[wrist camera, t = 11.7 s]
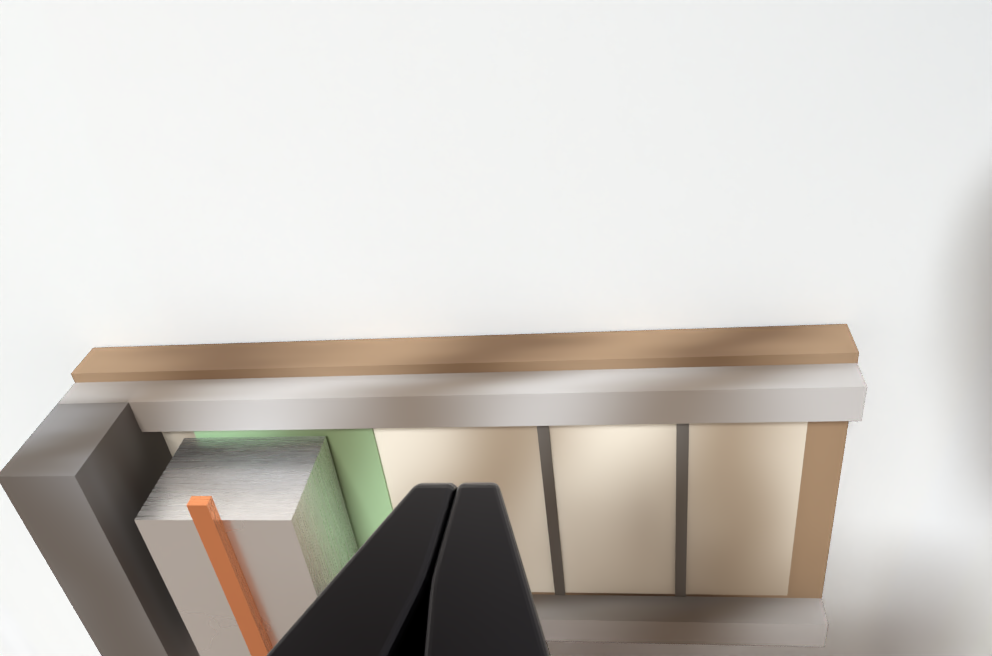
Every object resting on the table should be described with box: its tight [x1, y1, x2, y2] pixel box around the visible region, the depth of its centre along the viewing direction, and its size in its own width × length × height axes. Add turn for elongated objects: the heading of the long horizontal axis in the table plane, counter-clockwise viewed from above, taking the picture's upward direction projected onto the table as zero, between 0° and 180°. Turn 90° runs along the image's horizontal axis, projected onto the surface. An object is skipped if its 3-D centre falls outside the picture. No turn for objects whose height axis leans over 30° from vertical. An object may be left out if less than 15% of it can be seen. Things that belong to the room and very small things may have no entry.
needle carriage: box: [134, 436, 358, 656], centre depth 23 cm, size 4×8×3 cm, turn 6°
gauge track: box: [0, 324, 867, 656], centre depth 23 cm, size 20×10×5 cm, turn 96°
